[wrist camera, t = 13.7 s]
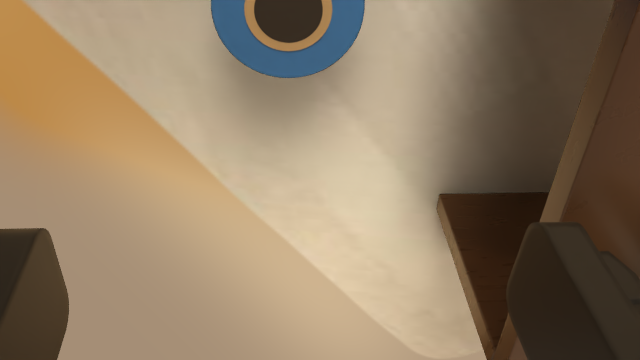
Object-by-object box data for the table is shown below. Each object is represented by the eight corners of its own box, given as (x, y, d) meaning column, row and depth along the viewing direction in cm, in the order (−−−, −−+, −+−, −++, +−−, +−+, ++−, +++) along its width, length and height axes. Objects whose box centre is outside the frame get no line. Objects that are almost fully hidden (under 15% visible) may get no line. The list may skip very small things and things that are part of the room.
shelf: (435, 209, 35) (496, 392, 26) (514, -193, 23) (687, -128, 13) (601, 206, 36) (720, 384, 26) (764, -185, 24) (1096, -118, 14)
